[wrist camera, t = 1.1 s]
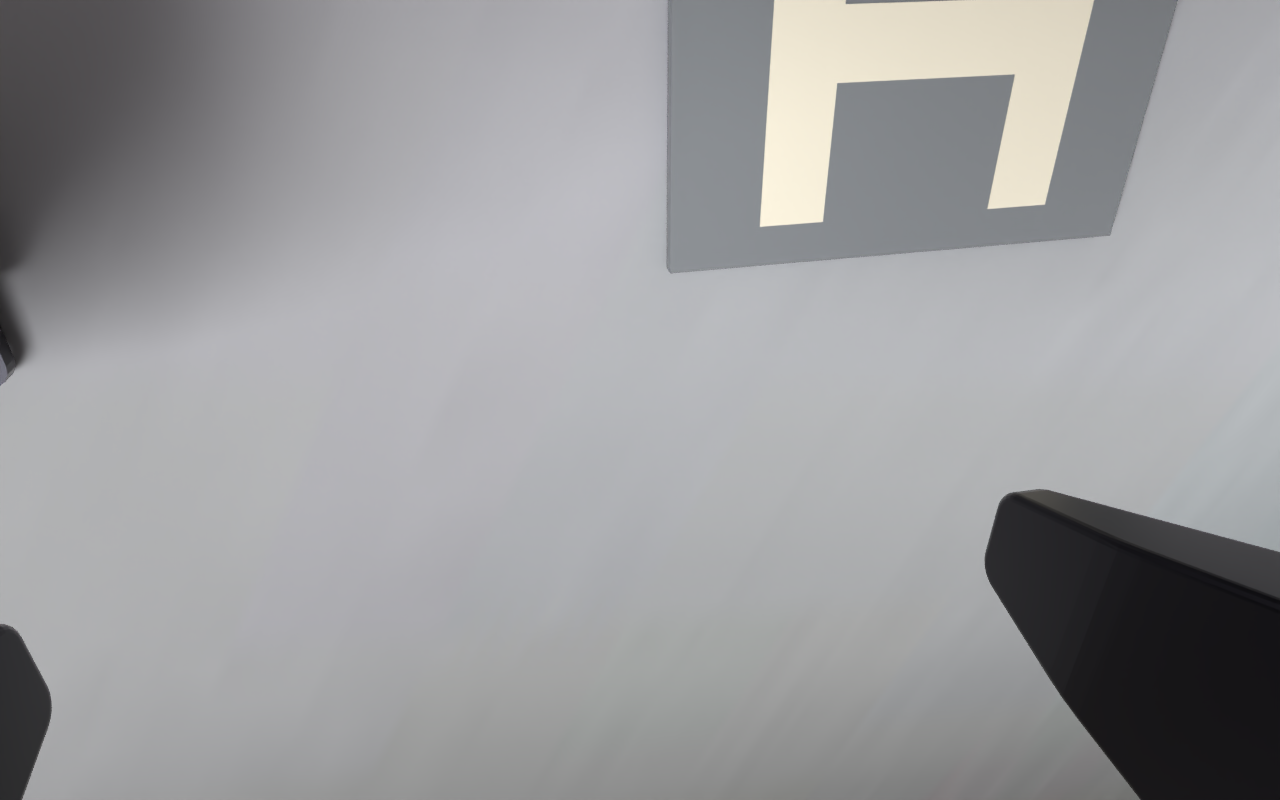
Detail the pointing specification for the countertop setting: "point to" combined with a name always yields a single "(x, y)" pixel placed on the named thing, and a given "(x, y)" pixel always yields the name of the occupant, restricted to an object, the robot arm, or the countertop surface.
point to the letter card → (899, 124)
